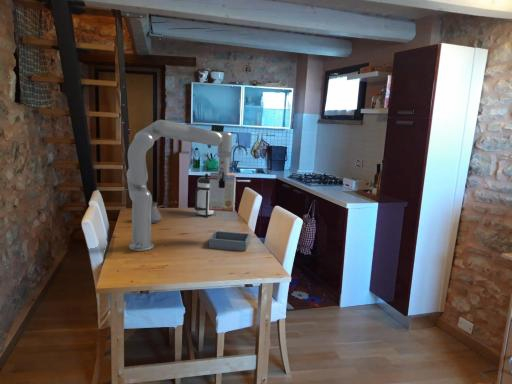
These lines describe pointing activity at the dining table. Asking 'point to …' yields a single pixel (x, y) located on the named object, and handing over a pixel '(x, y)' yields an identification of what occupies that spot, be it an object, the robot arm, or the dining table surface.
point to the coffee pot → (157, 212)
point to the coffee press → (202, 197)
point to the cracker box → (222, 193)
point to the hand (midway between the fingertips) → (222, 186)
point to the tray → (229, 241)
